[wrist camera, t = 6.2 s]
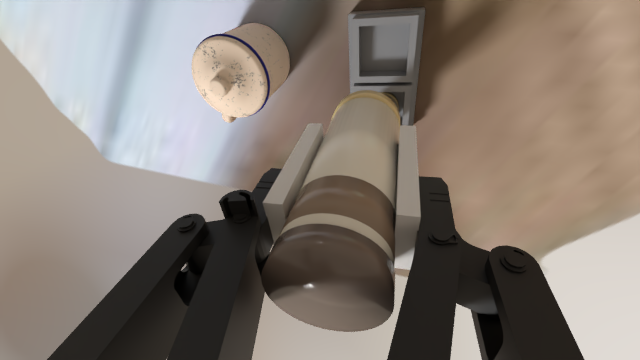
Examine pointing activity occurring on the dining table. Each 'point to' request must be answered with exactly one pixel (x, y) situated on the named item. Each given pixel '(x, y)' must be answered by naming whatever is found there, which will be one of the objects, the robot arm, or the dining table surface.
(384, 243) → the cylinder
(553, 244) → the dining table surface
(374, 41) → the fuse block
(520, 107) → the dining table surface
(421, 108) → the dining table surface
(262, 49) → the teacup with lid
